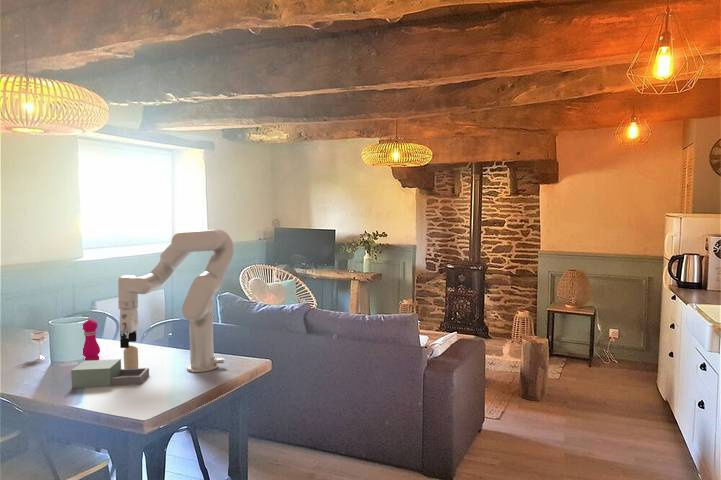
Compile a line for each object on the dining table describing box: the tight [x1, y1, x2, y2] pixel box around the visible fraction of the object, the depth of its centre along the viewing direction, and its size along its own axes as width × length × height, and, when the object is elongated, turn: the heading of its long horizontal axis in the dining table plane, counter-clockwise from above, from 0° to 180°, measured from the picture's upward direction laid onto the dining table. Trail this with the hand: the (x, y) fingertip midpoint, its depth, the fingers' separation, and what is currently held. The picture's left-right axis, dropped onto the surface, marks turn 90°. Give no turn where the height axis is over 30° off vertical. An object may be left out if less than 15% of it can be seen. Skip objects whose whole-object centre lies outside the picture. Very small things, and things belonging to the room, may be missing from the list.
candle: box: [123, 344, 139, 369], centre depth 217 cm, size 6×6×10 cm
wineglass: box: [30, 329, 49, 360], centre depth 235 cm, size 7×7×12 cm
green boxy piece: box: [70, 358, 150, 389], centre depth 201 cm, size 25×12×7 cm, turn 96°
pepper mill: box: [82, 316, 101, 361], centre depth 229 cm, size 7×7×20 cm
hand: (128, 344), depth 216 cm, fingers open, 9 cm apart
